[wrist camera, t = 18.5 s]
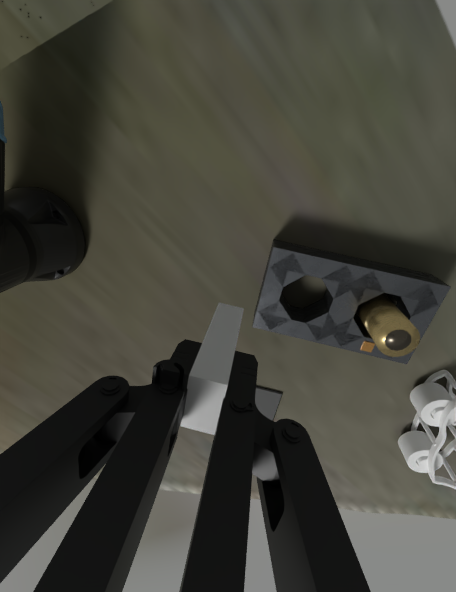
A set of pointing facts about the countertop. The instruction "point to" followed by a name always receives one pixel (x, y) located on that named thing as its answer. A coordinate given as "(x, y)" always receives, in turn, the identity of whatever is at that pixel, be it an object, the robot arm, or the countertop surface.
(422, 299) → the block
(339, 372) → the countertop surface
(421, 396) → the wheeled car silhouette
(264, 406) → the mat
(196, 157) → the countertop surface
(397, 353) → the bushing
